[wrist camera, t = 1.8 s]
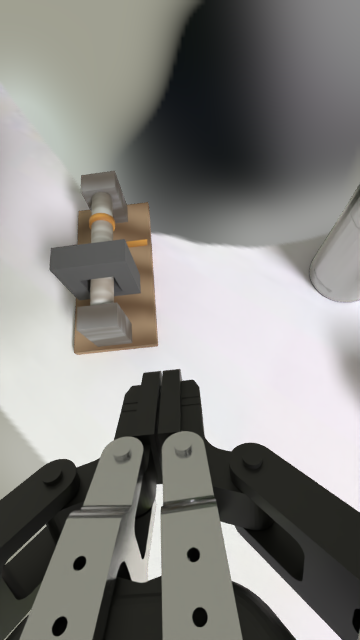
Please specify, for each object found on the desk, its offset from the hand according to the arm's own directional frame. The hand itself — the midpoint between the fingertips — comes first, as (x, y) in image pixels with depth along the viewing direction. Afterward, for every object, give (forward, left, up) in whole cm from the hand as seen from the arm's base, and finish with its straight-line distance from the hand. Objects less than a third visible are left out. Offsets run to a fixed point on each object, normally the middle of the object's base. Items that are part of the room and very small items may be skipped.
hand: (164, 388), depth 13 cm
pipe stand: (+1, -25, -30) cm, 39 cm away
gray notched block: (+2, -21, -26) cm, 34 cm away
